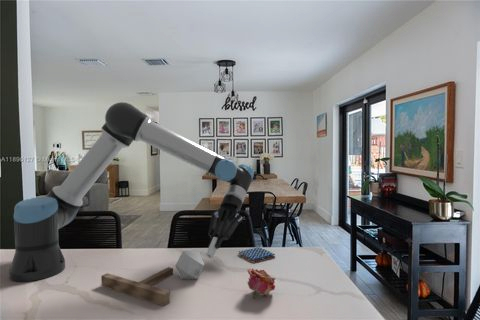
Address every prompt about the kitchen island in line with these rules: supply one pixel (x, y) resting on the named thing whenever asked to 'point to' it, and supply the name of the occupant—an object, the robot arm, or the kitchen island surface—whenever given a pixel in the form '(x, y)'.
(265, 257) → the woven mat
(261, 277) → the flower
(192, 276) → the die
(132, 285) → the walnut T rail
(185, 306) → the kitchen island surface
